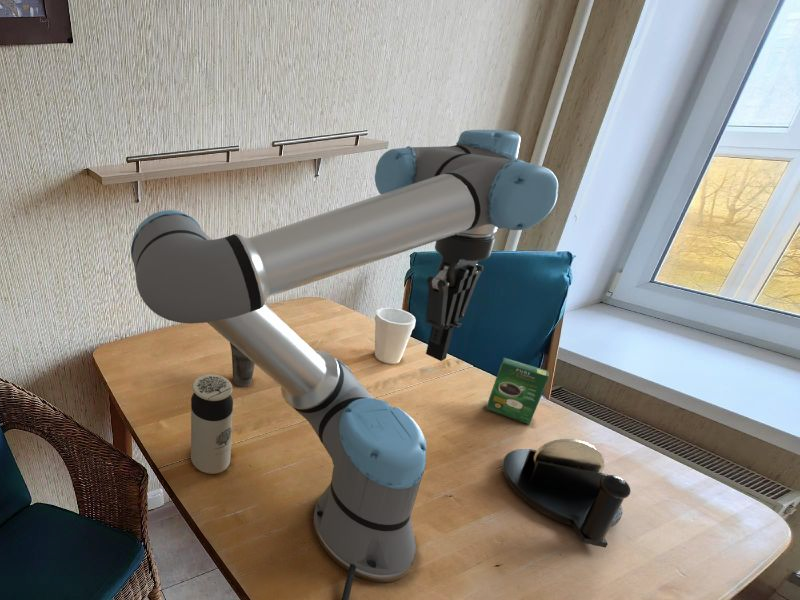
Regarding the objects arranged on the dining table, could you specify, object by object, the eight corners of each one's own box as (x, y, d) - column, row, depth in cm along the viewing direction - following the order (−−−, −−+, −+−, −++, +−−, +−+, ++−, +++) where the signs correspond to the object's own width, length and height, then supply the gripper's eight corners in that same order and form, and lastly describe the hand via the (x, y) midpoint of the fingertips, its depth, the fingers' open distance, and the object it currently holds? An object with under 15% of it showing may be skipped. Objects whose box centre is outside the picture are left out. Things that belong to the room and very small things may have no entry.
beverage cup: (256, 391, 106) (261, 321, 99) (227, 388, 107) (230, 318, 100) (256, 374, 112) (261, 306, 105) (228, 371, 114) (231, 304, 107)
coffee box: (531, 419, 95) (549, 369, 90) (531, 426, 93) (549, 376, 88) (487, 403, 100) (502, 356, 95) (485, 410, 98) (501, 361, 93)
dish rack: (661, 563, 64) (698, 501, 60) (533, 533, 69) (558, 474, 65) (587, 463, 82) (610, 409, 77) (488, 445, 87) (505, 393, 82)
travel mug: (184, 451, 89) (184, 379, 82) (217, 439, 91) (219, 369, 85) (202, 480, 82) (203, 404, 75) (237, 466, 85) (242, 392, 78)
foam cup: (408, 353, 119) (417, 312, 115) (405, 371, 112) (414, 328, 107) (371, 344, 124) (378, 304, 119) (366, 360, 117) (373, 318, 112)
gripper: (470, 244, 62) (436, 379, 70) (513, 229, 68) (477, 355, 76) (419, 232, 68) (393, 357, 77) (463, 219, 74) (434, 336, 83)
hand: (435, 356), depth 76 cm, fingers closed
